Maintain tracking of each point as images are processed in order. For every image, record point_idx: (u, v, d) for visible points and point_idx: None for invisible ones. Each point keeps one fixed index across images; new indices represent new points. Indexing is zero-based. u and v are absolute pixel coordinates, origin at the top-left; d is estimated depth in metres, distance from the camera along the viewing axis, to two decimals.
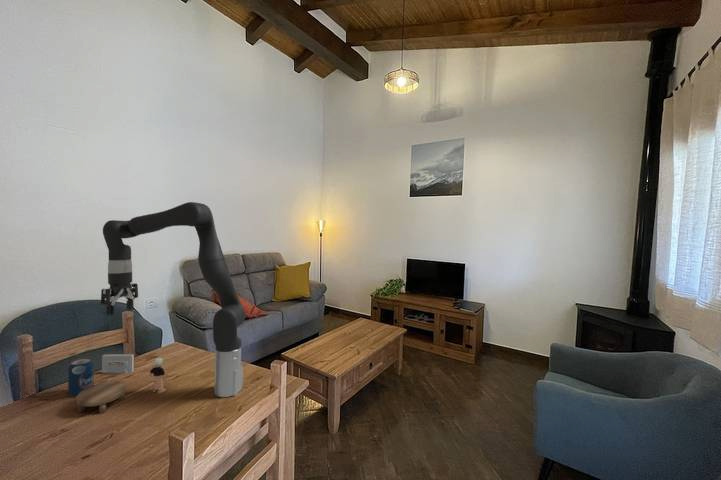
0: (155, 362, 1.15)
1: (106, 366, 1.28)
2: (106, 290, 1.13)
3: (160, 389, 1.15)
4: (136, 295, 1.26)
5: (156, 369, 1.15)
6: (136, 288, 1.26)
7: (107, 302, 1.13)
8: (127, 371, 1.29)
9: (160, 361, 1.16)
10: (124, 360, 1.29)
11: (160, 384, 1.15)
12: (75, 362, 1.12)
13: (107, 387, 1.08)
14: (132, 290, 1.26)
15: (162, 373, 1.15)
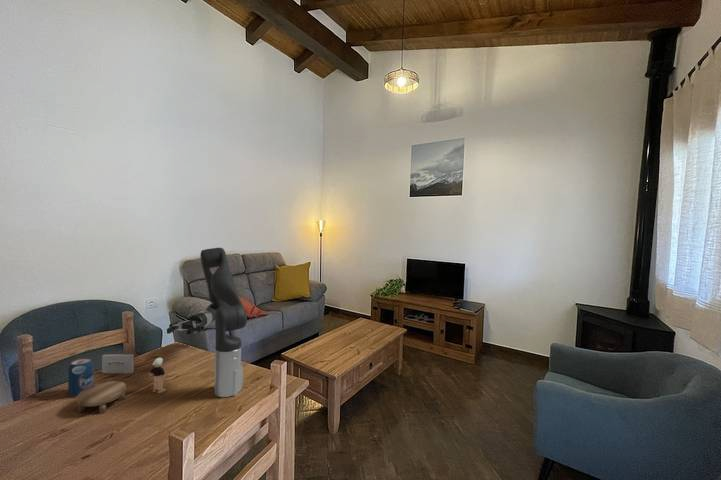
0: (155, 362, 1.15)
1: (106, 366, 1.28)
2: None
3: (160, 389, 1.15)
4: (199, 326, 1.32)
5: (156, 369, 1.15)
6: (203, 323, 1.35)
7: (170, 324, 1.33)
8: (127, 371, 1.29)
9: (160, 361, 1.16)
10: (124, 360, 1.29)
11: (160, 384, 1.15)
12: (75, 362, 1.12)
13: (107, 387, 1.08)
14: None
15: (162, 373, 1.15)
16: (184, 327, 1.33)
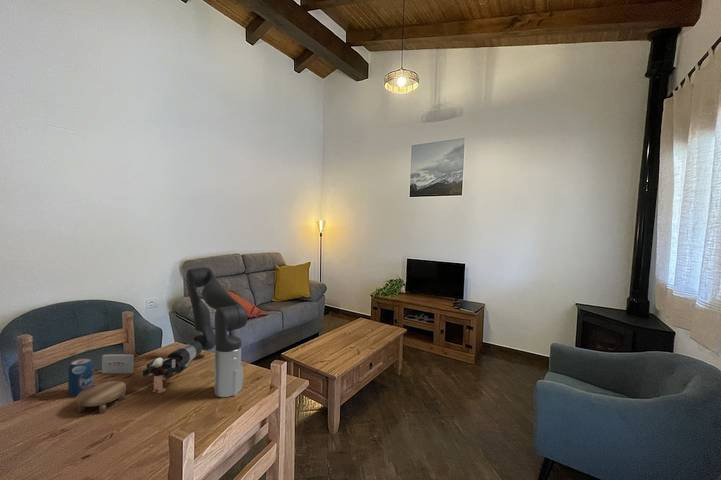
0: (155, 362, 1.15)
1: (106, 366, 1.28)
2: None
3: (160, 389, 1.15)
4: (179, 366, 1.19)
5: (156, 369, 1.15)
6: (184, 362, 1.22)
7: (148, 364, 1.20)
8: (127, 371, 1.29)
9: (160, 361, 1.16)
10: (124, 360, 1.29)
11: (160, 384, 1.15)
12: (75, 362, 1.12)
13: (107, 387, 1.08)
14: None
15: (162, 373, 1.15)
16: (163, 367, 1.21)
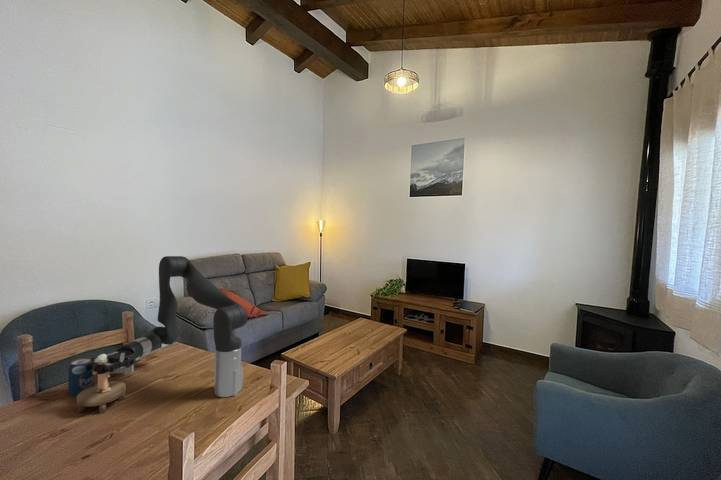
0: (97, 359, 1.05)
1: None
2: None
3: (104, 388, 1.05)
4: (128, 359, 1.09)
5: (99, 366, 1.05)
6: (134, 356, 1.12)
7: (93, 357, 1.10)
8: (127, 371, 1.29)
9: (103, 357, 1.05)
10: None
11: (104, 383, 1.05)
12: (75, 362, 1.12)
13: None
14: None
15: (106, 370, 1.05)
16: (110, 361, 1.10)
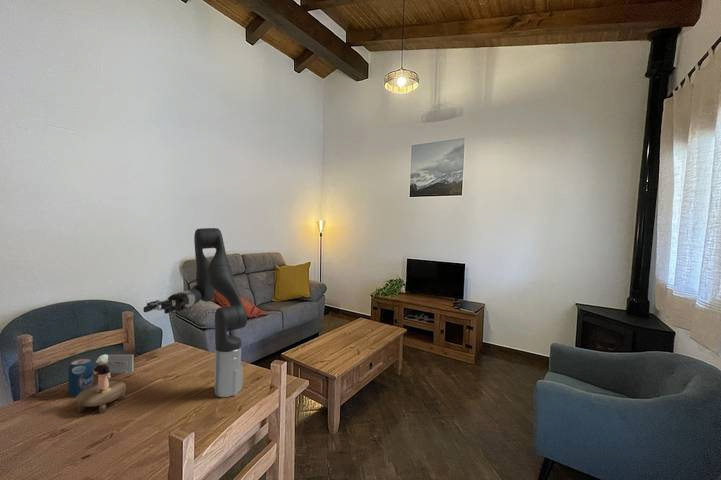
0: (99, 359, 1.04)
1: None
2: None
3: (104, 389, 1.05)
4: (179, 304, 1.24)
5: (100, 367, 1.05)
6: (184, 303, 1.27)
7: (148, 303, 1.25)
8: (127, 371, 1.29)
9: (105, 358, 1.05)
10: (124, 360, 1.29)
11: (104, 383, 1.05)
12: (75, 362, 1.12)
13: None
14: None
15: (106, 371, 1.05)
16: (163, 306, 1.25)
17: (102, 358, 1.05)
